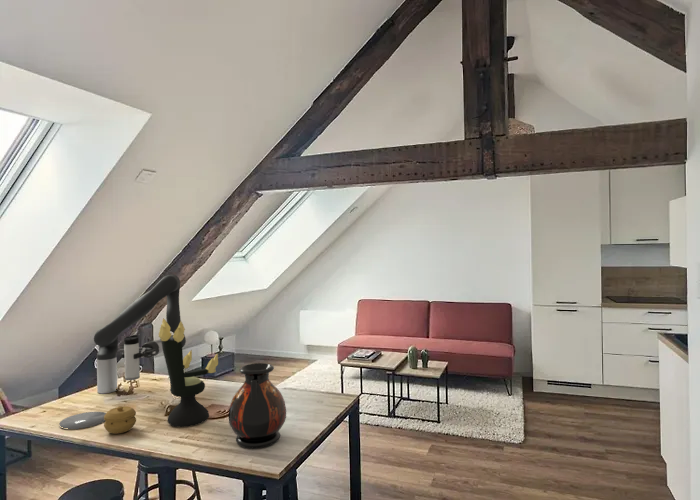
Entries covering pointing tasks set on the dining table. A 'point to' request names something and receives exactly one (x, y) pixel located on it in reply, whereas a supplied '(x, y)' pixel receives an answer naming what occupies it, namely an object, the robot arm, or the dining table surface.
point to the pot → (120, 419)
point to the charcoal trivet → (83, 420)
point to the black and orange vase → (257, 408)
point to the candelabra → (184, 379)
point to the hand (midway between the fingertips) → (128, 356)
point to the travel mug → (131, 357)
